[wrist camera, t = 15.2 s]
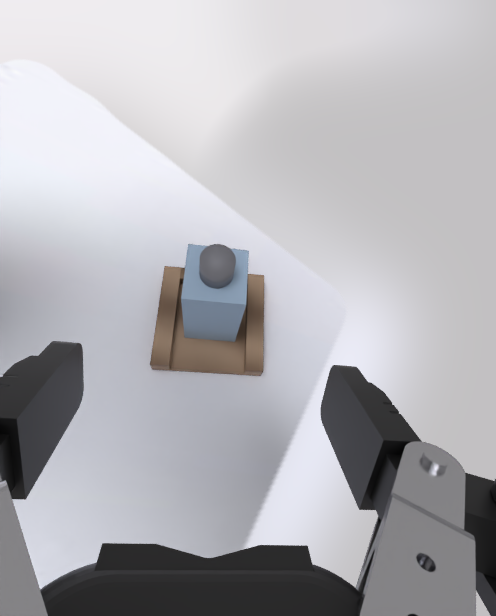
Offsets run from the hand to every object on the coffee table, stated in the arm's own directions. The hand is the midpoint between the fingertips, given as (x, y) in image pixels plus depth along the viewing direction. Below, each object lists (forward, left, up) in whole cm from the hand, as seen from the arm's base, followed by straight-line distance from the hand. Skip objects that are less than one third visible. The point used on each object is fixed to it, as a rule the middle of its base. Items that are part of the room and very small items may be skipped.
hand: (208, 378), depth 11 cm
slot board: (+6, +8, -21) cm, 23 cm away
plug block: (+6, +9, -20) cm, 23 cm away
